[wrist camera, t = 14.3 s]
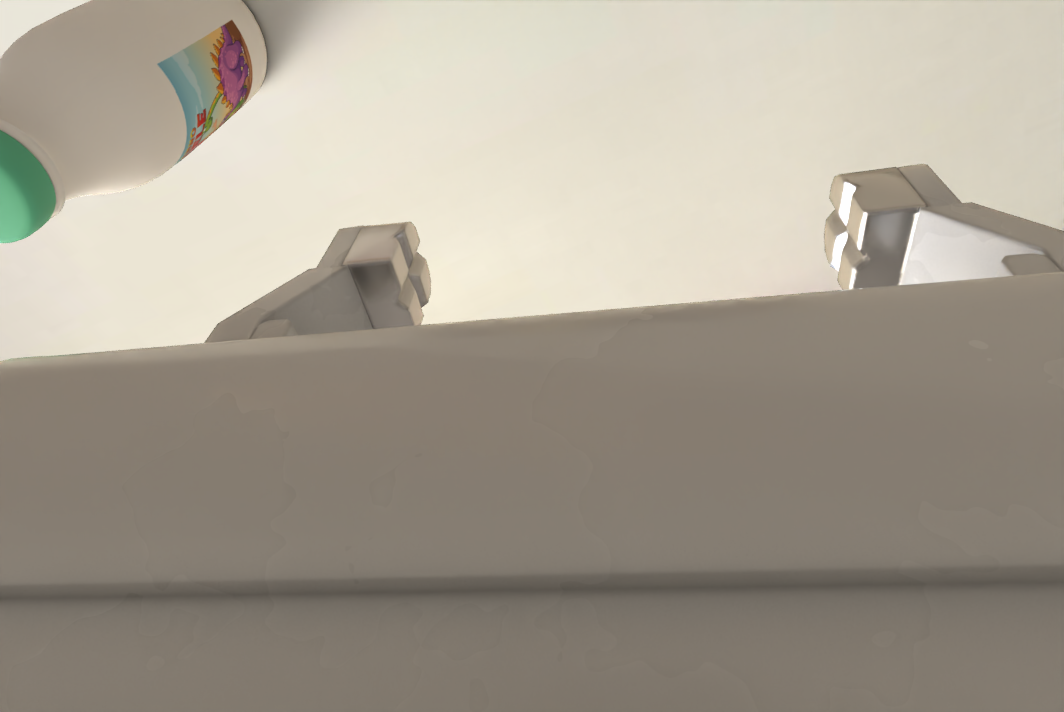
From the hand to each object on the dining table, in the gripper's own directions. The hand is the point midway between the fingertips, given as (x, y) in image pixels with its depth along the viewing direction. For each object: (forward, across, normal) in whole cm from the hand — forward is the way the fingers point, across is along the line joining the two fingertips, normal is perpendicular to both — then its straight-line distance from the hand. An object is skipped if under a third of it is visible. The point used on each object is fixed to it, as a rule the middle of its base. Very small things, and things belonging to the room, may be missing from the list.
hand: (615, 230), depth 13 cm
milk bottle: (+29, +24, +1) cm, 38 cm away
